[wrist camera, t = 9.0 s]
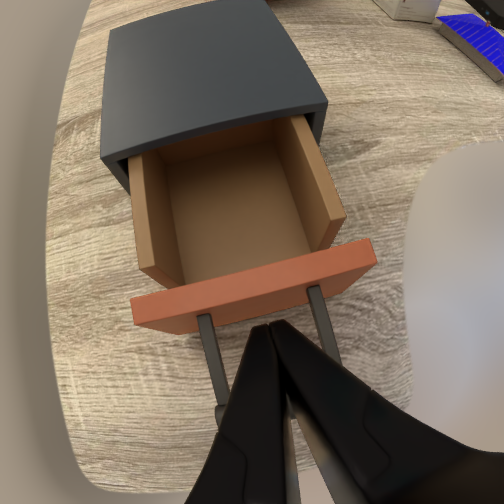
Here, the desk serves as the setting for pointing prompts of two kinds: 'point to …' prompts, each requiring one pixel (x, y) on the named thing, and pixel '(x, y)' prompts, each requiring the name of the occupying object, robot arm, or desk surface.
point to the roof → (476, 42)
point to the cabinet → (200, 78)
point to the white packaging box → (410, 9)
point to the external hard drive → (490, 11)
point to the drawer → (239, 234)
